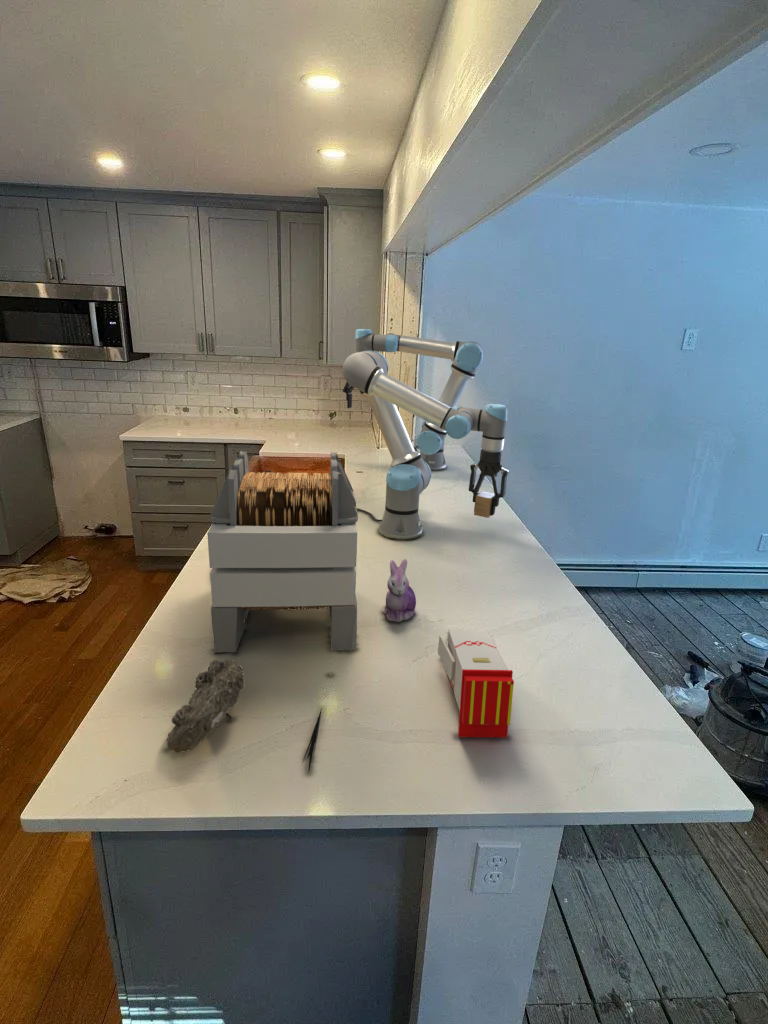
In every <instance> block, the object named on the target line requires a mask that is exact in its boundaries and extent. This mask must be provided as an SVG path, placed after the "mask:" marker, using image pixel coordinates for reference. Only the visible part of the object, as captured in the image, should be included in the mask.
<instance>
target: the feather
mask: <svg viewBox="0 0 768 1024" xmlns="http://www.w3.org/2000/svg"><path fill="white" fill-rule="evenodd" d="M329 675H330V676H331V675H332V674H331V673H330V674H329ZM322 710H323V707H321V708H320V710H319V713H318V716H317V719H316V723H315V725H314V728H313V731H312V733H311V737H310V739H309V742H308V745H307V748H306V751H305V754H304V757H303V760H302V763H301V767H302V765H303V763H304V761H305V758H308V759H309V760H308V762H307V763H308V764H307V766H308V771H310V770H311V766H312V765H311V764H312V760H313V757H315V756H314V755H315V751H316V749H315V746H317V739H318V733H319V729H320V722H321V717H322V712H323V711H322ZM313 754H314V755H313ZM306 755H307V757H306Z"/></svg>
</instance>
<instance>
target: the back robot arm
mask: <svg viewBox="0 0 768 1024" xmlns="http://www.w3.org/2000/svg"><path fill="white" fill-rule="evenodd" d="M354 336H355V337H354V353H357V352H363V351H366V350H372V351H376V352H379V353H382V352H383V353H396V352H400V353H406V354H413V355H420V356H425V357H426V356H427V357H432V358H437V359H438V358H439V359H446V360H451V366H450V370H451V373H450V375H449V378H448V379H447V382H446V384H445V385H444V388H443V390H442V393H441V394H440V397H439V399H438V401H439V402H441V403H443V404H445V405H447V406H449V407H451V408H452V407H458V404H459V402H460V400H461V398H462V396H463V394H464V391H465V390H466V388H467V386H468V384H469V381H470V380H472V379H474V378H475V377H476V375H477V372H478V370H479V368H480V367H481V366H482V363H483V360H484V355H485V353H484V352H485V351H484V348H483V347H482V345H481V344H479V343H478V342H477V341H459V340H456V341H454V342H450V341H443V340H436V339H430V338H421V337H416V336H410V335H409V336H408V335H400V334H395V333H393V332H390V333H386V334H380V333H379V334H377V333H373V330H372V329H369V328H358V329H356V330H355V335H354ZM354 389H355V388H354V387H353V386H351V385H350V384H349V383H348V382H347V381H346V382H345V384H344V386H343V389H342V393H344V394H345V400H346V401H347V403H346V408H347V409H351V408H352V407H353V394H352V392H353V391H354ZM370 408H371V407H370ZM370 411H371V412H372V413H373V411H372V408H371V409H370ZM447 436H448V434H447V432H446V431H444V430H442V429H441V428H439V427H437V426H435V425H433V424H431V423H429V422H427V421H425V420H423V421H422V424H421V429H420V432H419V434H418V435H417V437H416V438H417V439H416V445H415V447H414V450H415V451H417V452H419V453H420V454H421V457H422V459H423V461H425V462H426V463H427V464H428V465H429V467H430V470H431V471H433V472H434V471H435V472H436V471H443V470H445V469H447V461H446V457H445V452H444V451H445V439H446V438H447ZM418 450H419V451H418Z"/></svg>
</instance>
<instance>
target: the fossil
mask: <svg viewBox="0 0 768 1024" xmlns="http://www.w3.org/2000/svg"><path fill="white" fill-rule="evenodd" d="M243 670H244V669H243V667H242V665H240V664H237V662H236V661H235V660H234V659H232V658H231V659H227V658H226V659H224V660H223V661H222V660H217V659H212V660H211V661H210V663H209V665H208V666H207V671H201V672H199V673H198V674H197V675H196V676H195V680H194V684H195V685H194V687H195V689H194V690H193V693H192V694H191V697H190V698H189V700H188V704H184V705H182V706H181V707H180V709H177V710H176V711H175V713H174V715H173V716H172V718H171V723H172V724H173V727H172V730H171V731H170V732H168V734H167V738H166V741H167V742H166V745H167V749H168V750H169V751H173V752H174V753H176V754H178V753H182V752H188V751H189V752H192V751H193V750H195V748H196V747H197V746H199V744H200V743H201V742H203V741H204V740H205V739H206V738H207V737H208V736H209V735H210V734H211V733H212V732H214V730H215V729H217V727H218V726H219V724H220V722H221V721H222V720H223V719H224V718H225V716H226V717H227V719H229V720H233V717H232V715H230V714H229V710H230V709H231V708H234V706H235V704H236V703H237V702H238V699H239V697H240V695H241V693H242V691H243V690H245V689H244V688H245V675H244V671H243Z"/></svg>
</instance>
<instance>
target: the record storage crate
mask: <svg viewBox="0 0 768 1024" xmlns="http://www.w3.org/2000/svg"><path fill="white" fill-rule="evenodd" d="M329 465H330V466H329V467H330V469H329V470H330V472H324V473H321V472H313V474H309V473H308V472H286V473H285V472H284V473H283V472H274V471H273V472H272V471H271V472H267V473H265V471H263V472H260V471H259V472H258V471H257V472H255V471H249V459H248V451H242V450H240V451H239V453H238V455H237V457H236V458H235V460H234V463H233V465H232V467H231V468H230V469H229V471H228V473H227V475H226V477H225V480H224V482H223V484H222V487H221V489H220V491H219V493H218V496H217V498H216V500H215V502H214V504H213V507H212V508H211V511H210V514H209V519H210V523H211V525H210V527H209V529H208V531H207V532H206V534H207V548H208V562H209V563H208V565H209V569H211V570H210V573H209V575H210V576H209V577H210V590H211V591H210V592H211V593H210V594H211V606H210V617H211V633H212V637H213V638H212V639H213V649H212V652H213V653H214V654H215V653H216V654H220V653H236V652H237V649H238V647H239V645H240V642H241V639H242V637H243V635H244V632H245V625H246V624H245V621H247V619H248V615H249V611H268V610H270V611H273V610H274V611H275V610H277V611H278V610H279V611H280V610H284V611H286V610H290V611H291V610H294V611H295V610H325V609H326V610H329V619H330V621H329V622H330V623H329V625H330V626H329V627H330V628H329V629H330V650H331V651H351V652H353V651H354V650H355V649H357V638H358V635H357V631H358V602H357V601H358V600H357V593H356V590H357V589H356V588H357V569H356V568H357V555H358V553H357V551H358V529H357V522H358V519H359V513H358V510H357V508H358V507H357V502H356V497H355V493H354V488H353V486H352V484H351V481H350V479H349V478H348V475H347V473H346V471H345V469H344V466H343V464H342V461H341V460H340V458H339V456H338V453H337V452H333V451H330V463H329Z"/></svg>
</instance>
